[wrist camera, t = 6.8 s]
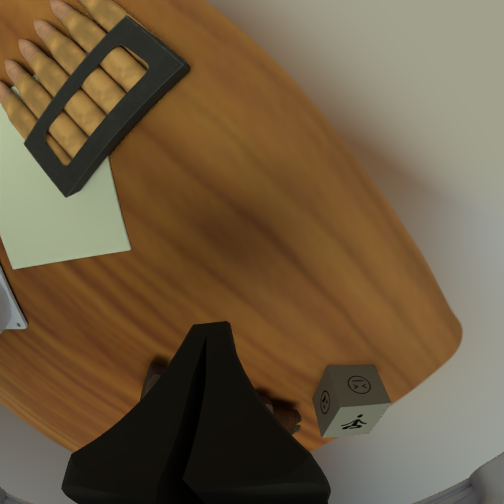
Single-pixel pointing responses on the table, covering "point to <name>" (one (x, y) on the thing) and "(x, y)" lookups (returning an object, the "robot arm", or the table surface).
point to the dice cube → (349, 400)
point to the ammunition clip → (86, 88)
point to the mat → (53, 208)
